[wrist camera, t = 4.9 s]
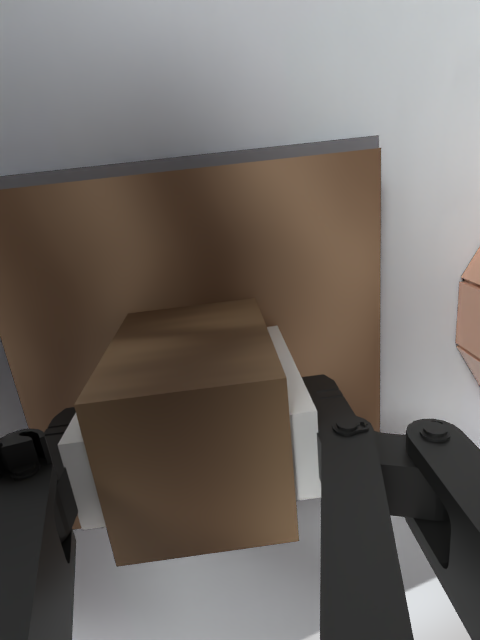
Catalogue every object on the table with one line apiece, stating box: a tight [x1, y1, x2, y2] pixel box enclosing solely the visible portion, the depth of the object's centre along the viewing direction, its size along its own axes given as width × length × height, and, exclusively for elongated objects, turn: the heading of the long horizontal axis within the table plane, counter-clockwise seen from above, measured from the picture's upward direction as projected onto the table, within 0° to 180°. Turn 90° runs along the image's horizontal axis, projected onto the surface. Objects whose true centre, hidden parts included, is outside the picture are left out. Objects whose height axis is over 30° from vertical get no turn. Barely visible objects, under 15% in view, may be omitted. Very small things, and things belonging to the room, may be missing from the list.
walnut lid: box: [0, 148, 381, 566], centre depth 15 cm, size 15×15×8 cm
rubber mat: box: [0, 135, 379, 189], centre depth 19 cm, size 16×16×1 cm
